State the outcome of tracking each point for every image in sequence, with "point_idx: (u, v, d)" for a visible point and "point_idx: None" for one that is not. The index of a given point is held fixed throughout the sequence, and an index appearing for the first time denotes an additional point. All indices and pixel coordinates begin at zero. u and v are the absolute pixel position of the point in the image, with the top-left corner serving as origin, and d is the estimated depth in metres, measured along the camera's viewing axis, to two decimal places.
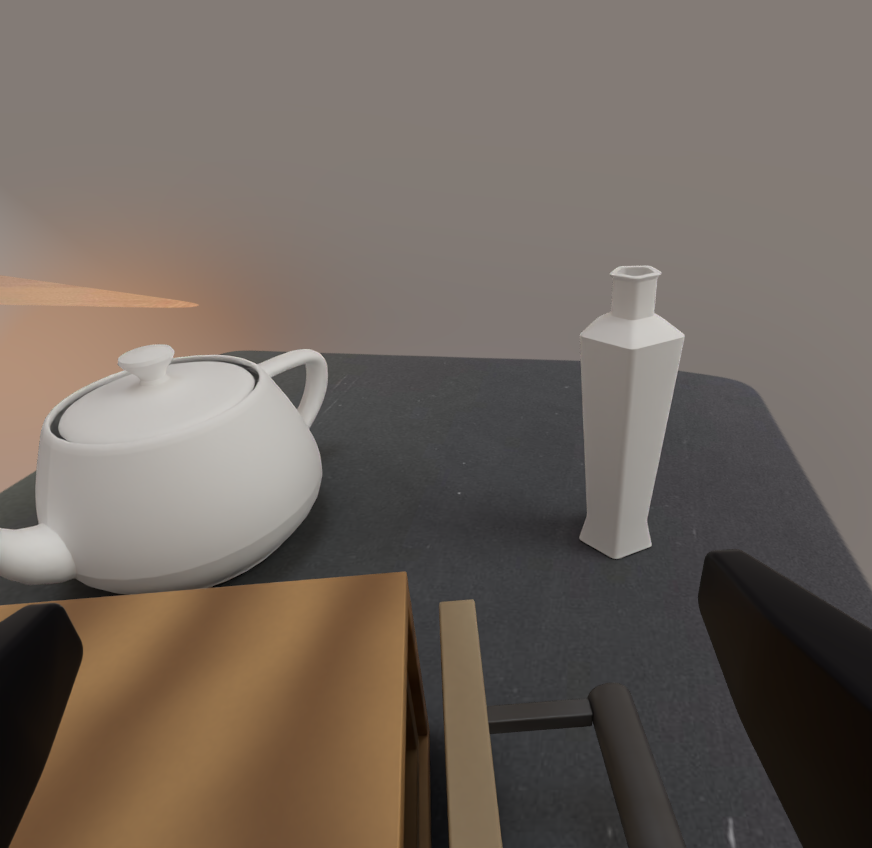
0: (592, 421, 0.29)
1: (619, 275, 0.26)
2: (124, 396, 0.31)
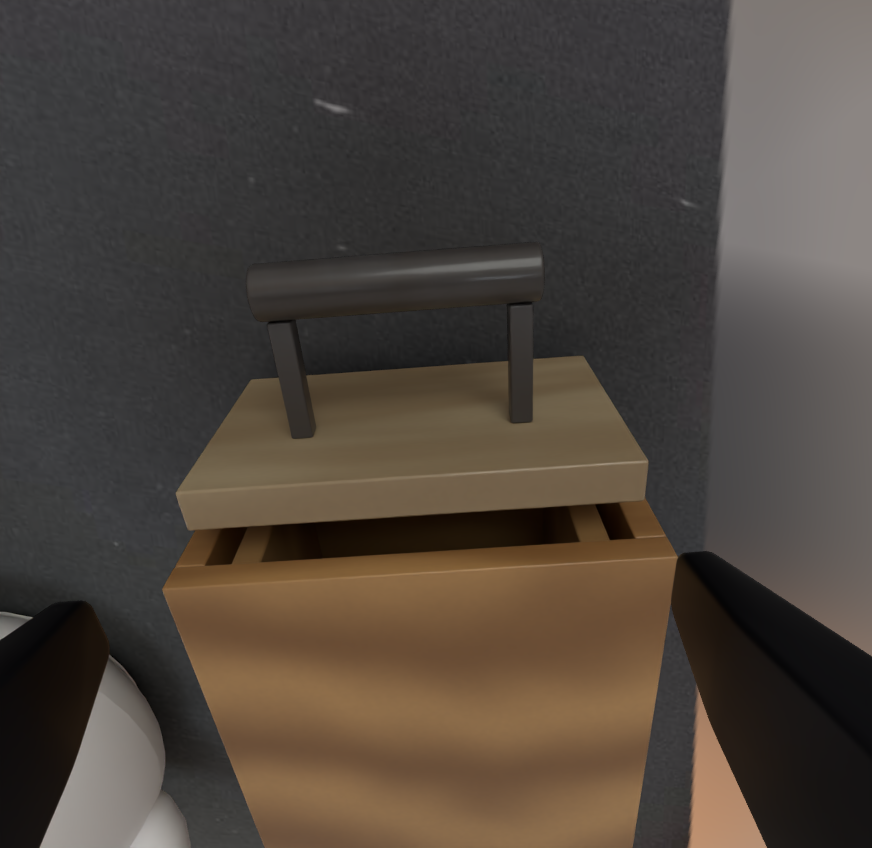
0: None
1: None
2: None
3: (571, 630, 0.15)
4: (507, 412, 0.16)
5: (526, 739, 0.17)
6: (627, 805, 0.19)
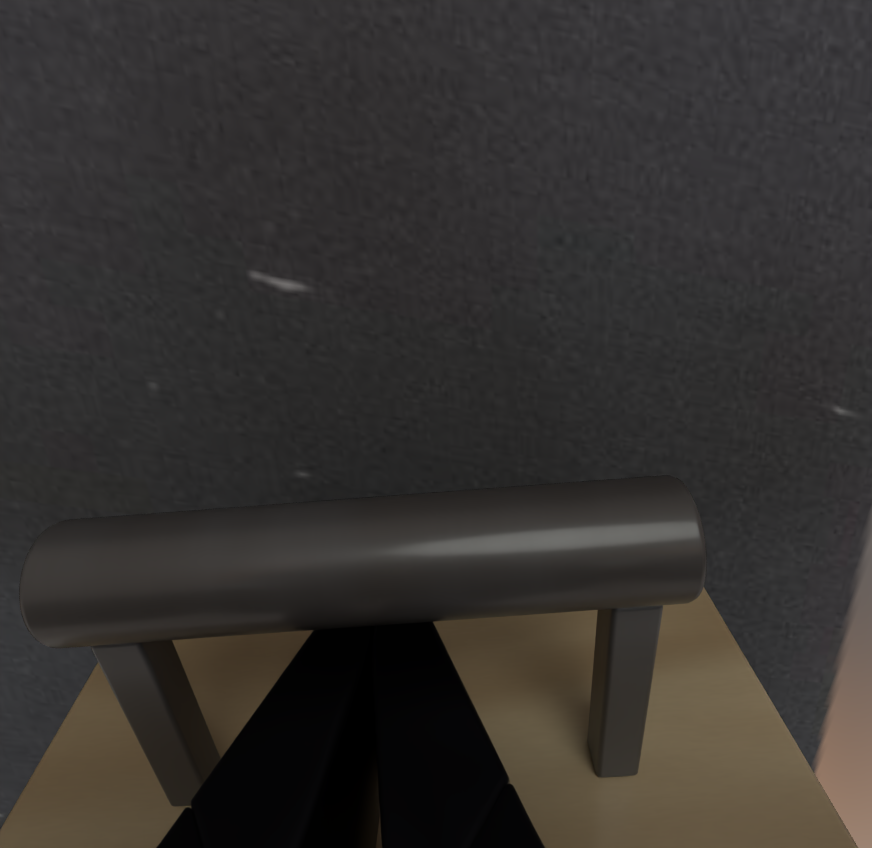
0: None
1: None
2: None
3: None
4: (582, 732, 0.09)
5: None
6: None
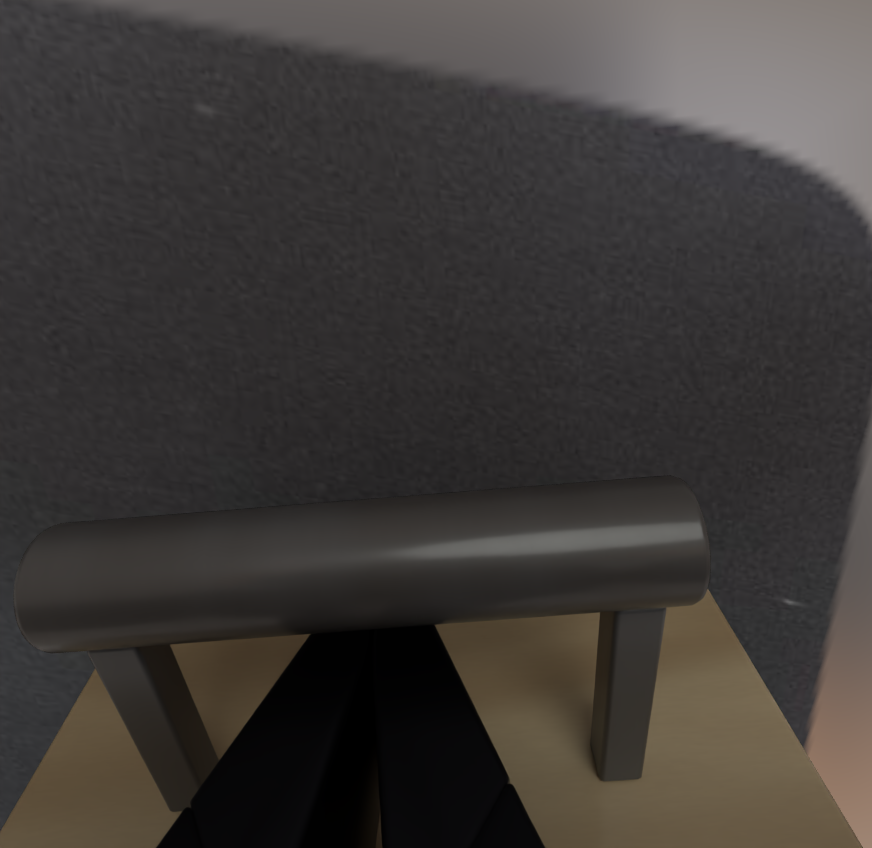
0: None
1: None
2: None
3: None
4: (585, 735, 0.09)
5: None
6: None
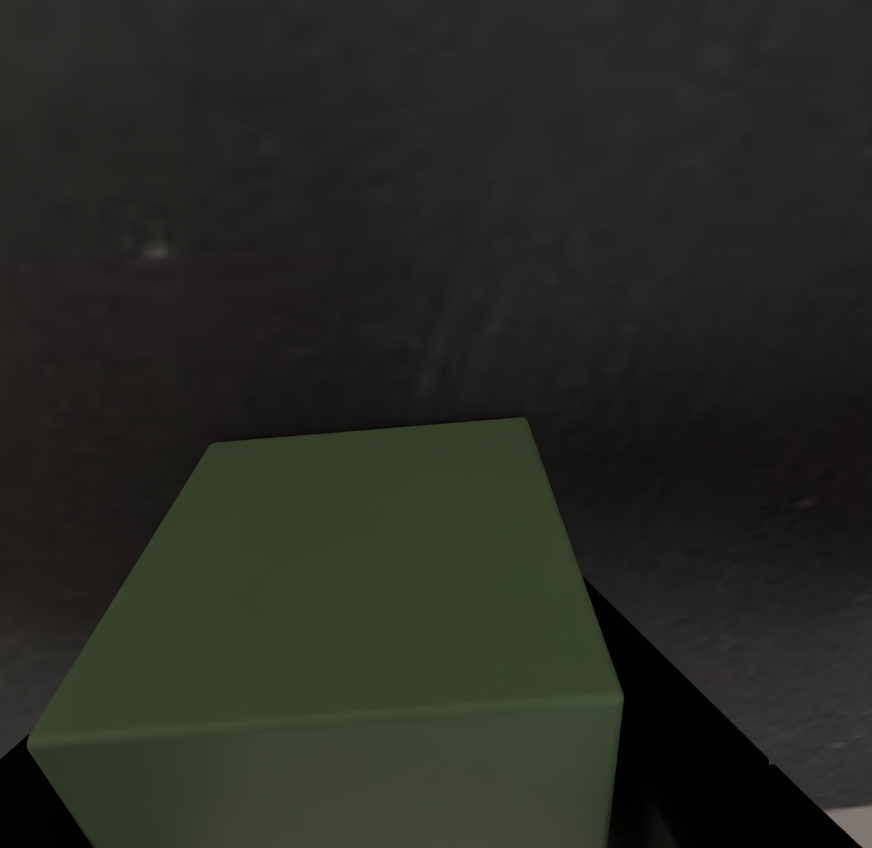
0: None
1: None
2: None
3: None
4: None
5: None
6: None
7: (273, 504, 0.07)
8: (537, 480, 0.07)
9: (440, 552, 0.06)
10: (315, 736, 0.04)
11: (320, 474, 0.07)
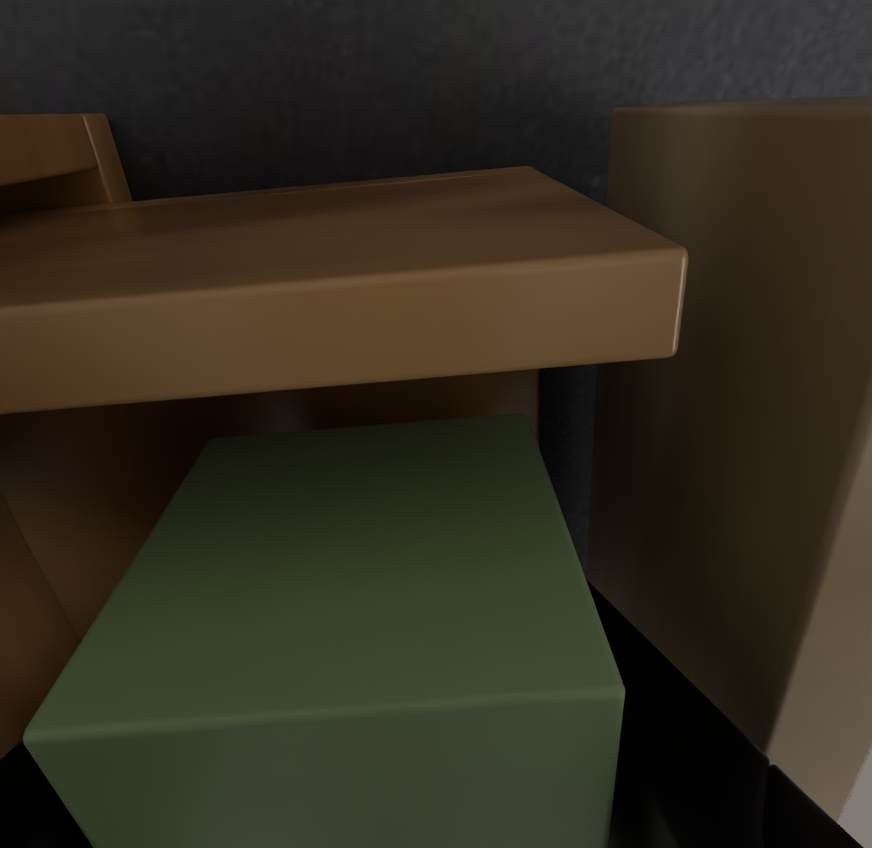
0: None
1: None
2: None
3: None
4: None
5: None
6: None
7: (272, 499, 0.07)
8: (538, 475, 0.07)
9: (441, 546, 0.06)
10: (313, 730, 0.04)
11: (319, 469, 0.07)
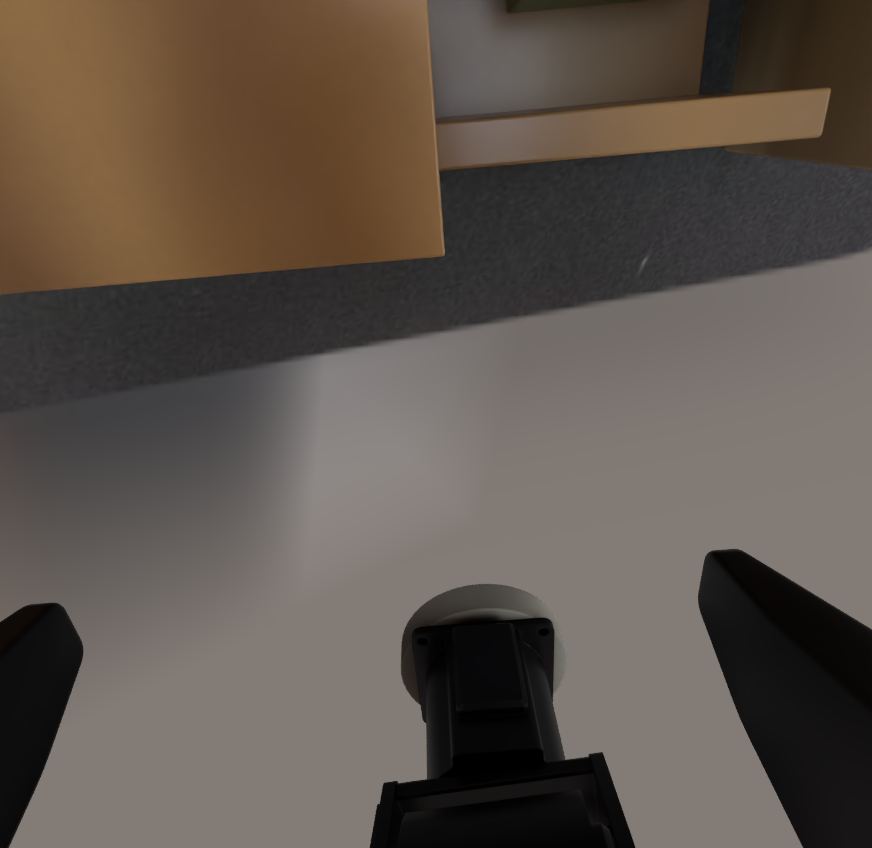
0: None
1: None
2: None
3: (291, 108, 0.09)
4: None
5: None
6: None
7: None
8: None
9: None
10: None
11: None
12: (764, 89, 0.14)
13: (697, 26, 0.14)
